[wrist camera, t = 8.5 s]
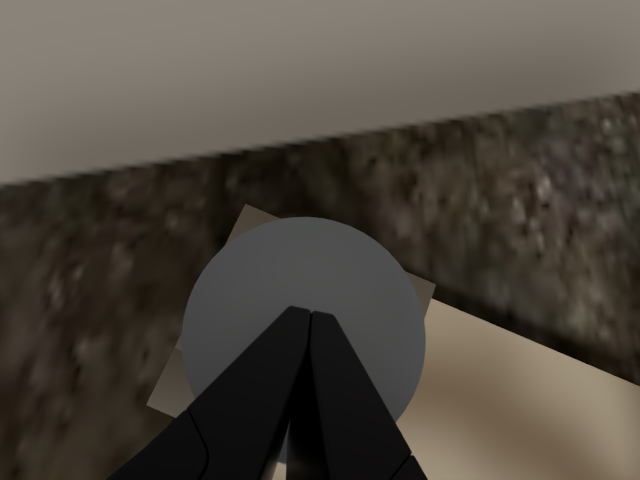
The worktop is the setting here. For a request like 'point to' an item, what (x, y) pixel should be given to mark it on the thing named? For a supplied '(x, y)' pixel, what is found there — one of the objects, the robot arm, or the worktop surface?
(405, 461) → the robot arm
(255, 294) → the slate key
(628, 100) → the worktop surface
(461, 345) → the stand
